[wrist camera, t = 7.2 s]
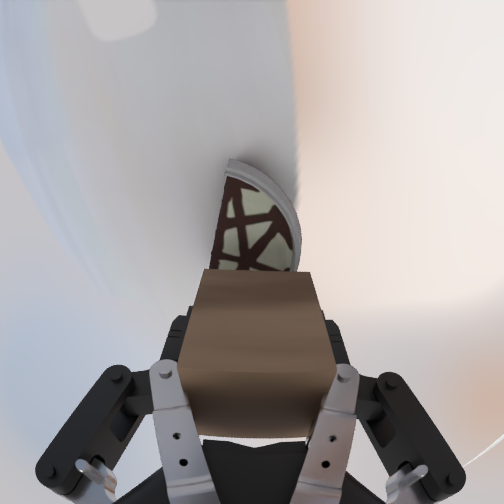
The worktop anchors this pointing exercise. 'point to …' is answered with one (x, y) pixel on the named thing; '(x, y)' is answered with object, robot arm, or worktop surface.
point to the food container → (255, 224)
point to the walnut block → (256, 354)
